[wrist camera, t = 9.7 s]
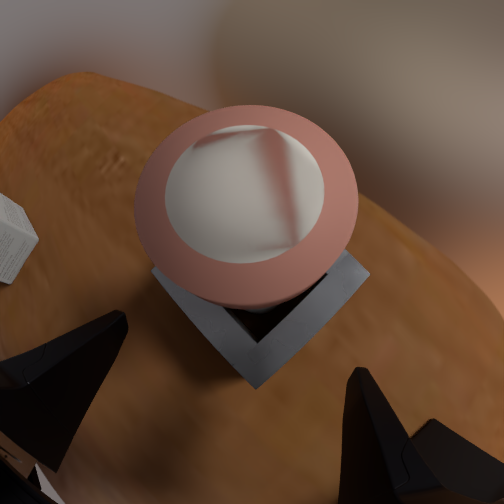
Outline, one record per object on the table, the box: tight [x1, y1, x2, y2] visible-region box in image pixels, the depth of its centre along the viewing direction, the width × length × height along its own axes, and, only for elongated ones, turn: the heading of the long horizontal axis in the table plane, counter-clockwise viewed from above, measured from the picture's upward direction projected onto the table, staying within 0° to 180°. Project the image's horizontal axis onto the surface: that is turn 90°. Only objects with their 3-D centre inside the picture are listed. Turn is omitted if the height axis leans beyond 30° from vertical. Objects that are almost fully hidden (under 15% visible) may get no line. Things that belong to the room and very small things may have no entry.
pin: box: [134, 105, 358, 314], centre depth 12 cm, size 5×5×13 cm
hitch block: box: [151, 249, 370, 389], centre depth 16 cm, size 8×8×4 cm
